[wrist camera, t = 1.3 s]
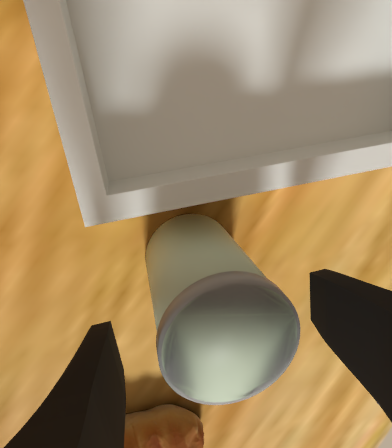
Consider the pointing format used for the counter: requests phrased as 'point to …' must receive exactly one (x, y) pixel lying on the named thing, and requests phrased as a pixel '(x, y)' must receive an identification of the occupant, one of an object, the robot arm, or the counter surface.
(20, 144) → the counter surface
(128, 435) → the pastry
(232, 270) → the tin
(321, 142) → the bin
